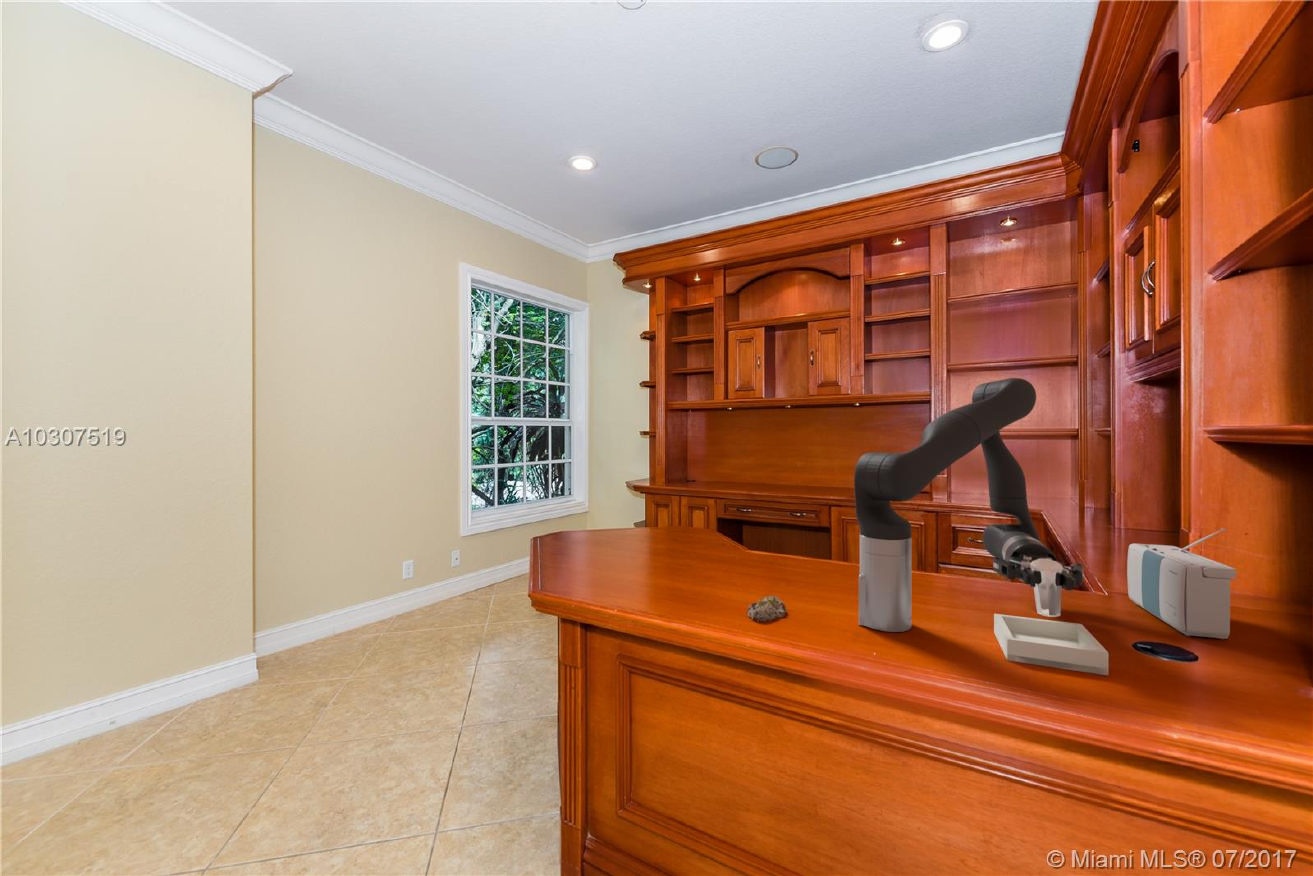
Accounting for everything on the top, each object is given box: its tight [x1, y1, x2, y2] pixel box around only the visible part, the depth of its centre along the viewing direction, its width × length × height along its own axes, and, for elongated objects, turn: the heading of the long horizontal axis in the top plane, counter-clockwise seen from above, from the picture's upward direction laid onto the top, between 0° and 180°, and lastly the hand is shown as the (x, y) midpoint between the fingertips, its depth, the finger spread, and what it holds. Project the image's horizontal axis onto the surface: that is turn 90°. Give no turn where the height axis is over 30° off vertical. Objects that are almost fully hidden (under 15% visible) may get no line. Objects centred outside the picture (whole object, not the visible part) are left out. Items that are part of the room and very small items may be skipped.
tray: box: [993, 613, 1109, 676], centre depth 89 cm, size 13×13×4 cm
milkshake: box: [1024, 555, 1063, 618], centre depth 89 cm, size 4×5×10 cm
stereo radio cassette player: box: [1126, 527, 1237, 640], centre depth 103 cm, size 21×8×20 cm, turn 159°
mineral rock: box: [747, 595, 787, 623], centre depth 108 cm, size 11×4×8 cm
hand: (1050, 582), depth 86 cm, fingers closed on milkshake, 4 cm apart
